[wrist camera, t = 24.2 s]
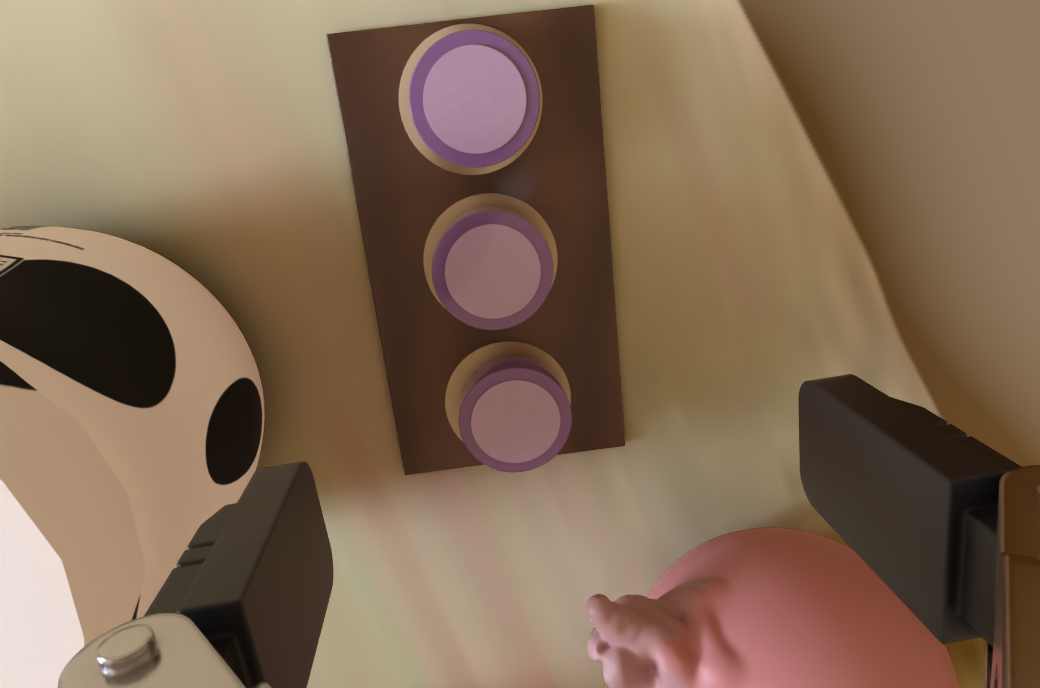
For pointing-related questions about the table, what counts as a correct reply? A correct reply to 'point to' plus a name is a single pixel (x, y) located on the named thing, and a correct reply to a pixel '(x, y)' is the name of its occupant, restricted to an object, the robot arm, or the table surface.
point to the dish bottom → (492, 268)
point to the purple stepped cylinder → (474, 98)
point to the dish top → (514, 414)
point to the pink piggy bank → (766, 622)
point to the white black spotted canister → (107, 435)
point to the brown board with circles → (455, 189)
